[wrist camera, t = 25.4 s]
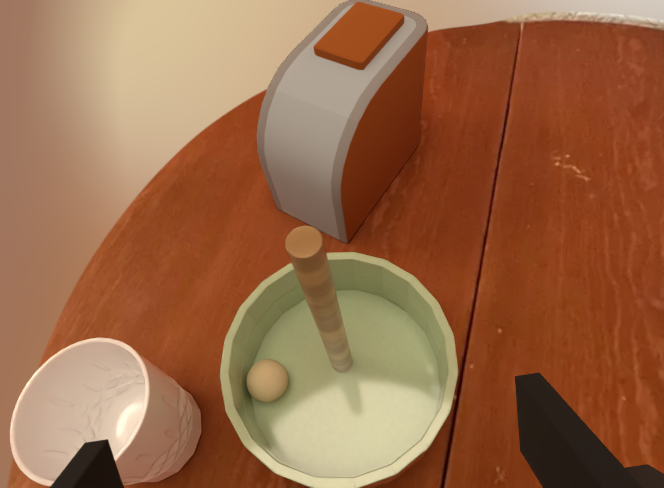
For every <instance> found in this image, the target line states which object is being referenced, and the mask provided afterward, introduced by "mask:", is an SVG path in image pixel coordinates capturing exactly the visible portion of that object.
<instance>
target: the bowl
mask: <svg viewBox="0 0 664 488" xmlns="http://www.w3.org/2000/svg"><path fill="white" fill-rule="evenodd" d="M327 257H328V262H329V266H330V270H331V274H332V278H333V282H334V286H335V290H336V294H337V299H338V303H339V307H340V311H341V315H342V319H343V323H344V327H345V331H346V335H347V340H348V344H349V348H350V352H351V356H352V360H353V364H352V367H351V369H350V370H349V371H347V372H345V373H339V372H337V371H335V370H334V368H333V366H332V364H331V361H330V359H329V356H328V354H327V351H326V349H325V346H324V344H323V341H322V339H321V336H320V334H319V331H318V329H317V326H316V324H315V321H314V318H313V316H312V313H311V311H310V308H309V306H308V303H307V301H306V298H305V296H304V293H303V291H302V288H301V286H300V283H299V281H298V278H297V276H296V273H295V270H294V268H293V265H292V263H290V264H288V265H287V266H285V267H283V268H282V269H280V270H279V271H277V272H276V273H274V274H273V275H271V276H270V277H268V278H267V279H265V280H264V281H262V282H261V283H260V284H259V286H258V287H257V288H256V289H255V290H254V291H253V293H252V294H251V295H250V296H249V297H248V298H247V299H246V301H245V302H244V303H243V304H242V305H241V306H240V308H239V310H238V312H237V314H236V316H235V318H234V320H233V323H232V325H231V327H230V329H229V331H228V333H227V335H226V338H225V341H224V348H223V355H222V362H221V369H220V381H221V387H222V393H223V399H224V405H225V411H226V413H227V415H228V417H229V419H230V421H231V423H232V425H233V427H234V428H235V430H236V432H237V434H238V436H239V438H240V440H241V441H242V443H243V445H244V446H245V447H246V448H247V449H248V450H249V451H250V452H251V453H252V454H253V455H254V456H255V457H257V458H258V459H259V460H260V461H261V462H262V463H263V464H264V465H265V466H267V467H268V468H269V469H270V470H271V471H272V472H273V473H275V474H277V475H280V476H282V477H285V478H287V479H290V480H292V481H295V482H297V483H300V484H302V485H305V486H307V487H310V488H374V487H377V486H380V485H383V484H385V483H388V482H391V481H394V480H396V479H397V478H398V477H399V476H401V475H402V474H403V473H404V472H405V471H407V470H408V469H409V468H410V467H411V466H413V465H414V464H415V463H416V462H417V461H419V460H420V459H421V458H422V457H423V456H424V455H425V453H426V452H427V450H428V449H429V447H430V446H431V444H432V442H433V441H434V439H435V437H436V435H437V434H438V432H439V430H440V429H441V427H442V425H443V424H444V422H445V420H446V419H447V417H448V415H449V414H450V411H451V407H452V402H453V397H454V392H455V388H456V383H457V378H458V364H457V356H456V348H455V340H454V335H453V332H452V330H451V328H450V326H449V324H448V322H447V319H446V317H445V315H444V313H443V311H442V309H441V307H440V305H439V303H438V301H437V300H436V299H435V298H434V297H433V296H432V295H431V294H430V293H429V291H428V290H427V289H426V288H425V287H424V286H423V285H422V284H421V283H420V282H419V281H418V280H417V279H416V277H414V276H413V275H411V274H409V273H408V272H406V271H404V270H402V269H401V268H399V267H397V266H396V265H394V264H392V263H390V262H389V261H387V260H384V259H380V258H376V257H372V256H368V255H364V254H360V253H356V252H341V253H327ZM265 359H271V360H275V361H277V362H279V363H280V364H282V365H283V367H284V368H285V370H286V372H287V375H288V385H287V388H286V390H285V392H284V394H283V395H282V396H281V397H280V398H279V399H277V400H275V401H273V402H260V401H258V400H256V399H254V398H253V397H252V396H251V394H250V393H249V391H248V389H247V384H246V379H247V375H248V372H249V370H250V369H251V367H252V366H253V365H254V364H256V363H257V362H259V361H261V360H265Z"/></svg>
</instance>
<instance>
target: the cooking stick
mask: <svg viewBox="0 0 664 488" xmlns="http://www.w3.org/2000/svg"><path fill="white" fill-rule="evenodd" d="M285 247H286V250H287V253H288V255H289V258H290V260H291V263H292V265H293V268H294V270H295V273H296V276H297V278H298V281H299V283H300V286H301V288H302V291H303V293H304V296H305V298H306V301H307V303H308V306H309V308H310V311H311V313H312V316H313V318H314V321H315V324H316V326H317V329H318V331H319V334H320V336H321V339H322V341H323V344H324V346H325V349H326V351H327V354H328V356H329V359H330V361H331V364H332V366H333V368H334V370H335V371H337V372H339V373H345V372H347V371H349V370H350V369H351V367H352V364H353V360H352V356H351V352H350V348H349V344H348V340H347V335H346V331H345V327H344V323H343V319H342V315H341V311H340V307H339V303H338V299H337V294H336V290H335V286H334V282H333V278H332V274H331V270H330V266H329V262H328V257H327V253H326V249H325V245H324V241H323V237H322V235H321V233H320V232H319V231H318V230H317V229H316V228H314V227H311V226H300V227H297V228H295V229H293V230H292V231H291V232H290V233H289V234H288V236H287V238H286V241H285Z"/></svg>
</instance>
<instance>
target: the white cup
mask: <svg viewBox="0 0 664 488" xmlns="http://www.w3.org/2000/svg"><path fill="white" fill-rule="evenodd" d="M201 432H202V428H201V411H200V409H199V407H198V405H197V404H196V402H195V400H194V398H193V397H192V395H191V394H190V393H188V392H187V391H186V390H184V389H183V388H181V386H180V385H179V384H178V383H177V382H176V381H175V380H173V379H172V378H171V377H170V376H168V375H167V374H166V373H165V372H164V371H162V370H161V369H160V368H159V367H157V366H156V365H154V364H153V363H152V362H150V361H149V360H148V359H146V358H145V357H143V356H142V355H141V354H139V353H138V352H137V351H135V350H134V349H133V348H131V347H130V346H128V345H127V344H125V343H123V342H121V341H118V340H115V339H109V338H93V339H87V340H83V341H80V342H77V343H75V344H72V345H70V346H68V347H66V348H64V349H62V350H61V351H59V352H58V353H56V354H55V355H53V356H52V357H51V358H50V359H48V360H47V361H46V362H45V363H44V364H43V365H42V366H41V367H40V368H39V369H38V370H37V371H36V372H35V373H34V375H33V376H32V377H31V378H30V380H29V381H28V383H27V384H26V386H25V387H24V389H23V391H22V393H21V394H20V396H19V399H18V401H17V403H16V406H15V409H14V412H13V415H12V420H11V426H10V445H11V450H12V454H13V457H14V459H15V461H16V463H17V465H18V467H19V468H20V469H21V471H22V472H23V473H24V474H25V475H26V476H27V477H29V478H30V479H32V480H33V481H35V482H37V483H39V484H42V485H46V486H51V485H52V484H53V483H54V481H55V480H56V479H57V478H58V476H59V475H60V474H61V472H62V471H63V470H64V469H65V467H66V466H67V465H68V463H69V462H70V461H71V460H72V458H73V457H74V456H75V454H76V453H77V452H78V451H79V449H80V448H81V447H82V446H83V444H84V443H86V442H93V441H99V440H106V439H108V441H109V444H110V447H111V450H112V453H113V456H114V459H115V462H116V465H117V468H118V471H119V474H120V477H121V480H122V483H123V485H132V484H136V483H140V482H159V481H161V480H163V479H165V478H167V477H169V476H171V475H173V474H175V473H177V472H178V471H179V470H180V469H181V468H182V467H183V466H184V465H185V463H186V462H187V461H188V460H189V459H190V458H191V456H192V455H193V454H194V452H195V449H196V446H197V444H198V441H199V438H200V435H201Z"/></svg>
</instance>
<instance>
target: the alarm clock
mask: <svg viewBox="0 0 664 488" xmlns="http://www.w3.org/2000/svg"><path fill="white" fill-rule="evenodd" d="M427 33H428V25H427V22H426V20H425V19H424V17H422V16H421V15H419V14H417V13H415V12H412V11H408V10H404V9H400V8H397V7H393V6H390V5H386V4H382V3H378V2H375V1H370V0H349V1H346V2H343V3H341V4H339V5H338V6H337V7H336V8H335V9H333V11H331V12H330V14H329V15H328V16H326V17H325V18H324V19H323V21H321V23H319V24H318V26H317V27H316V28H315V29H314V30H313V31H312V32H311V33H310V34H309V35H308V36H307V37H306V38H305V39H304V40H303V41H302V42H301V43H300V44H299V45H298V46H297V47H296V48H295V49H294V50H293V51H292V52H291V53H290V54H289V55H288V56H287V58H286V59H285V60H284V61H283V63H282V64H281V65H280V66H279V68H278V69H277V71H276V73H275V75H274V77H273V79H272V81H271V83H270V84H269V86H268V89H267V91H266V94H265V97H264V100H263V103H262V106H261V110H260V115H259V121H258V127H257V150H258V155H259V159H260V164H261V166H262V169H263V172H264V174H265V177H266V180H267V182H268V185H269V188H270V190H271V193H272V196H273V198H274V201H275V204H276V206H277V208H278V209H279V210H281V211H283V212H285V213H287V214H289V215H291V216H293V217H295V218H297V219H299V220H301V221H303V222H305V223H307V224H309V225H311V226H312V227H314V228H316V229H318V230H320V231H322V232H324V233H326V234H328V235H330V236H332V237H334V238H336V239H338V240H340V241H342V242H344V243H348V242H349V241H350V239H351V238H352V237H353V235H354V234H355V233H356V231H357V230H358V228H359V227H360V226H361V224H362V223H363V221H364V220H365V219H366V217H367V216H368V214H369V213H370V212H371V210H372V209H373V208H374V206H375V205H376V203H377V202H378V201H379V199H380V198H381V196H382V195H383V194H384V192H385V191H386V189H387V188H388V187H389V185H390V184H391V182H392V181H393V180H394V178H395V177H396V176H397V174H398V173H399V171H400V170H401V169H402V167H403V166H404V164H405V163H406V162H407V160H408V159H409V157H410V156H411V155H412V153H413V152H414V151H415V149H416V148H417V146H418V143H419V132H420V120H421V108H422V95H423V83H424V70H425V58H426V45H427Z"/></svg>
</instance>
